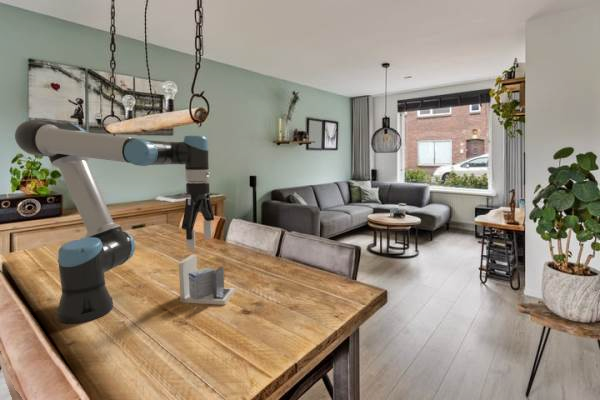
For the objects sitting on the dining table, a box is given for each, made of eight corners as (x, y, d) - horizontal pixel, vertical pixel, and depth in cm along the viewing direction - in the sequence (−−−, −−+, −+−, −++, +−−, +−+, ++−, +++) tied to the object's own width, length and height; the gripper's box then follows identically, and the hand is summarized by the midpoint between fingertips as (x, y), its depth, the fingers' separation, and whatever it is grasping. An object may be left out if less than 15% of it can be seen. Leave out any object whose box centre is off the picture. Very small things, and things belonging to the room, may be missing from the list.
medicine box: (208, 289, 119) (207, 266, 118) (215, 292, 116) (214, 269, 115) (189, 296, 113) (188, 272, 112) (196, 300, 110) (195, 275, 109)
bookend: (213, 298, 111) (212, 273, 110) (221, 290, 118) (220, 266, 117) (223, 298, 111) (222, 273, 110) (229, 290, 118) (229, 266, 117)
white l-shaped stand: (180, 302, 112) (178, 263, 110) (194, 289, 122) (192, 254, 120) (225, 304, 110) (223, 265, 108) (234, 292, 120) (233, 255, 118)
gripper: (191, 185, 96) (194, 254, 99) (221, 179, 121) (223, 234, 124) (167, 185, 97) (171, 253, 100) (202, 179, 122) (204, 234, 125)
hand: (200, 243), depth 112 cm, fingers open, 13 cm apart
